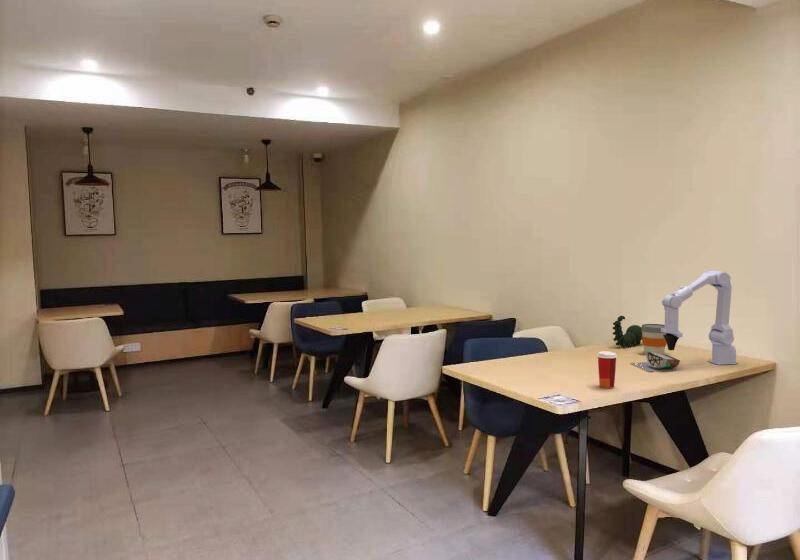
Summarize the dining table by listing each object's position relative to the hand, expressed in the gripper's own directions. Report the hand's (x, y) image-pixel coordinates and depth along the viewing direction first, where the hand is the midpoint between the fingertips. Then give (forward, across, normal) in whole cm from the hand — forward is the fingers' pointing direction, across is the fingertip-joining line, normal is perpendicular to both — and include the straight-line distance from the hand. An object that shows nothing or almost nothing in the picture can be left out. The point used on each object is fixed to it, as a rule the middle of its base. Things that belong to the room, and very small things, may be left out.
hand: (671, 350), depth 259 cm
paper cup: (+8, +28, -44) cm, 52 cm away
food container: (+6, +2, -1) cm, 6 cm away
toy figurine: (+8, -49, +5) cm, 49 cm away
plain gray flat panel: (+8, 0, -9) cm, 12 cm away
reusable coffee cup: (+8, -26, +6) cm, 27 cm away
